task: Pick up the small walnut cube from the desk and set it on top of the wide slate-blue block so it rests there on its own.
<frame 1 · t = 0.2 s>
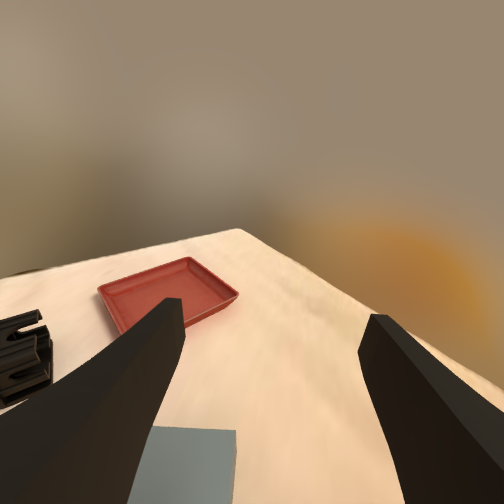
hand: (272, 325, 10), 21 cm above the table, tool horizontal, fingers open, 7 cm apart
end cap: (19, 376, 32), on the table
plant saucer: (169, 306, 45), on the table
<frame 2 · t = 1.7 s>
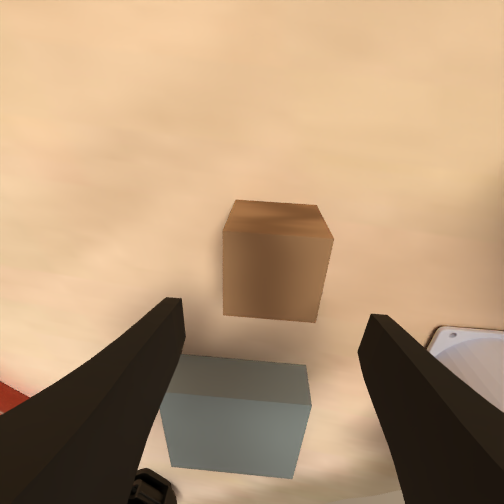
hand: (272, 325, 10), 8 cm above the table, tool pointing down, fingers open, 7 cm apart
walnut cube: (272, 238, 17), on the table
end cap: (143, 482, 37), on the table
slate-blue block: (237, 396, 26), on the table
plant saucer: (5, 413, 31), on the table
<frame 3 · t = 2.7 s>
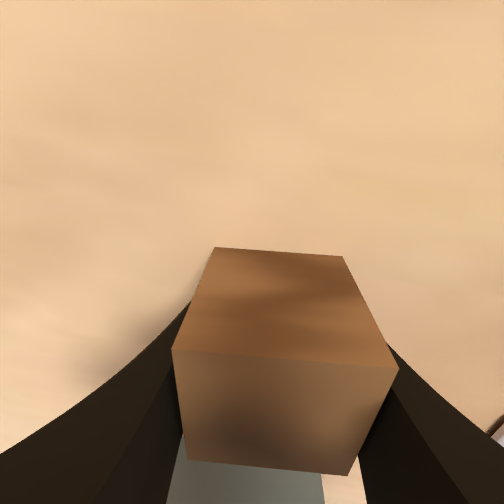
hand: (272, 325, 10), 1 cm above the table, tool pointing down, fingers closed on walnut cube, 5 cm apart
walnut cube: (272, 302, 11), on the table, touching gripper
slate-blue block: (227, 476, 20), on the table
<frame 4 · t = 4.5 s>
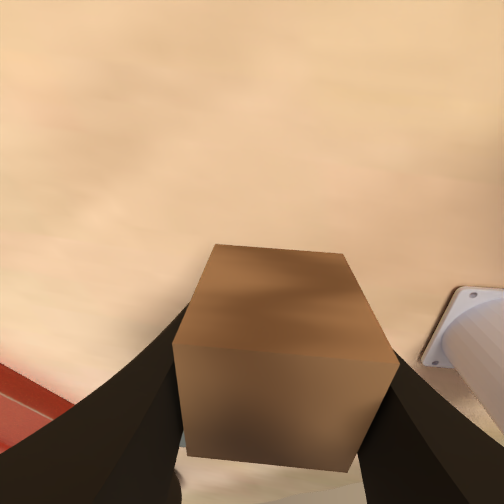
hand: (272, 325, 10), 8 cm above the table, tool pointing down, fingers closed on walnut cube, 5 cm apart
walnut cube: (272, 299, 11), point 7 cm above the table, touching gripper
end cap: (146, 469, 36), on the table
plant saucer: (2, 396, 30), on the table
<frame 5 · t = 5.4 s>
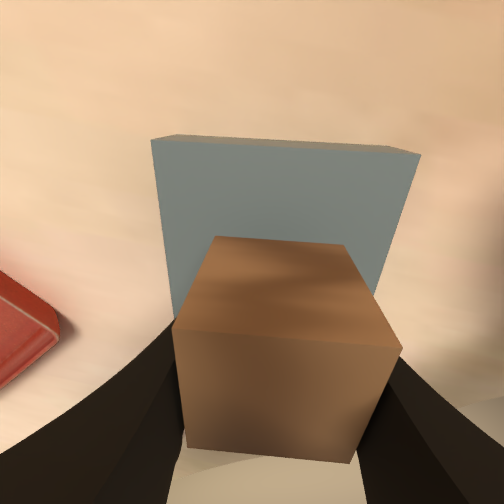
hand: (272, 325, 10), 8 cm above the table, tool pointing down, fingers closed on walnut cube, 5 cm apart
walnut cube: (273, 292, 11), point 7 cm above the table, touching gripper
slate-blue block: (271, 233, 18), on the table
when the fingers open (7 cm above the table, at t = 6.2 s): walnut cube drops 2 cm, resting on slate-blue block.
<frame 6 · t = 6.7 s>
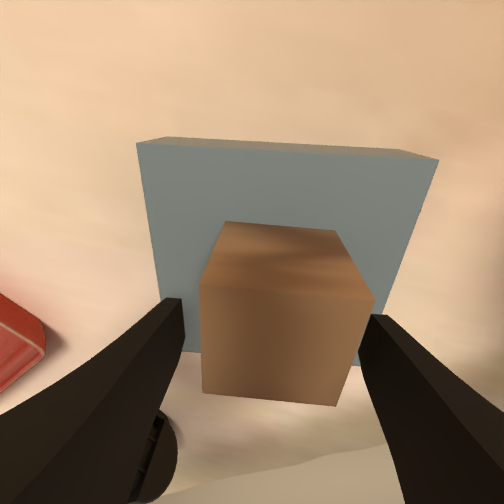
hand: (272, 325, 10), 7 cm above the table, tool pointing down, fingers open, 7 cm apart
walnut cube: (274, 271, 13), point 3 cm above the table, touching slate-blue block
end cap: (131, 420, 27), on the table
slate-blue block: (271, 242, 16), on the table, touching walnut cube
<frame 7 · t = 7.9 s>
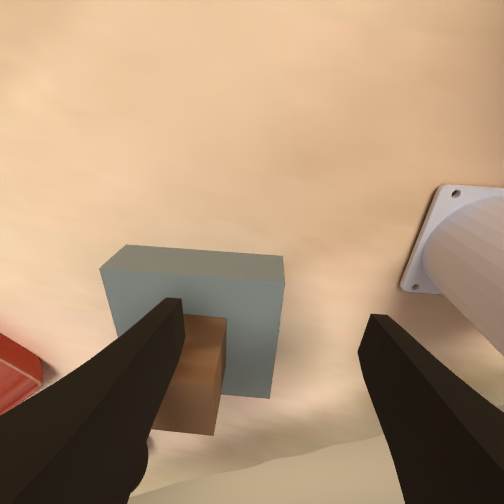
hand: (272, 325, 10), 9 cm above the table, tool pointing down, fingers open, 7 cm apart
walnut cube: (193, 340, 19), point 3 cm above the table, touching slate-blue block
end cap: (113, 431, 33), on the table
slate-blue block: (207, 307, 23), on the table, touching walnut cube
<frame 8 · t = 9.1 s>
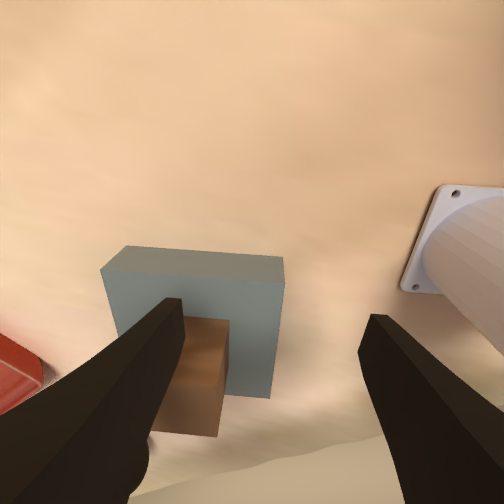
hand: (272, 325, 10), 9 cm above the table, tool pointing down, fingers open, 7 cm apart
walnut cube: (195, 342, 19), point 3 cm above the table
end cap: (114, 431, 33), on the table
slate-blue block: (208, 307, 23), on the table
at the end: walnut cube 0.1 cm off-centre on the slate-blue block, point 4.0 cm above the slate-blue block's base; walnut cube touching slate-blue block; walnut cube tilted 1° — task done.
